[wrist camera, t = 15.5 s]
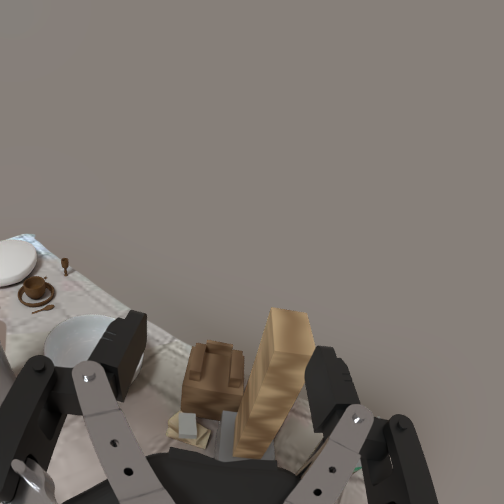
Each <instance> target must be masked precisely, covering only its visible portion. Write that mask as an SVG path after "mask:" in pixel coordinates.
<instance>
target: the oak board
mask: <svg viewBox="0 0 504 504" xmlns="http://www.w3.org/2000/svg"><path fill="white" fill-rule="evenodd" d="M315 348H316V347H315V343H314V339H313V336H312V331H311V328H310V324H309V320H308V317H307V313H302V312H296V311H290V310H285V309H279V308H273V307H271V310H270V313H269V316H268V319H267V323H266V326H265V329H264V333H263V336H262V339H261V342H260V346H259V349H258V352H257V355H256V358H255V361H254V365H253V367H252V371H251V374H250V377H249V380H248V383H247V386H246V389H245V392H244V395H243V398H242V401H241V404H240V407H239V410H238V413H237V416H236V419H235V429H234V443H233V457H241V458H251V459H261V458H262V456H263V455H264V453H265V452H266V450H267V448H268V447H269V445H270V444H271V442H272V440H273V439H274V437H275V435H276V434H277V432H278V430H279V429H280V427H281V425H282V423H283V422H284V420H285V418H286V416H287V415H288V413H289V411H290V409H291V407H292V406H293V404H294V402H295V400H296V398H297V396H298V394H299V392H300V391H301V389H302V387H303V385H304V383H305V380H304V373H305V369H306V366H307V364H308V362H309V360H310V358H311V356H312V354H313V352H314V350H315Z"/></svg>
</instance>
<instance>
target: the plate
mask: <svg viewBox="0 0 504 504" xmlns="http://www.w3.org/2000/svg"><path fill="white" fill-rule="evenodd" d="M36 262H37V252H36V249H35V247H34V246H33V245H32V244H30V243H28V242H26V241H21V240H3V241H0V287H1V286H7V285H11V284H14V283H17V282H20V281H22V280H23V279H24V278H25V277H26V276H28V275H29V273H30V272H31V271H32V270H33V268H34V267H35V265H36Z"/></svg>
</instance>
